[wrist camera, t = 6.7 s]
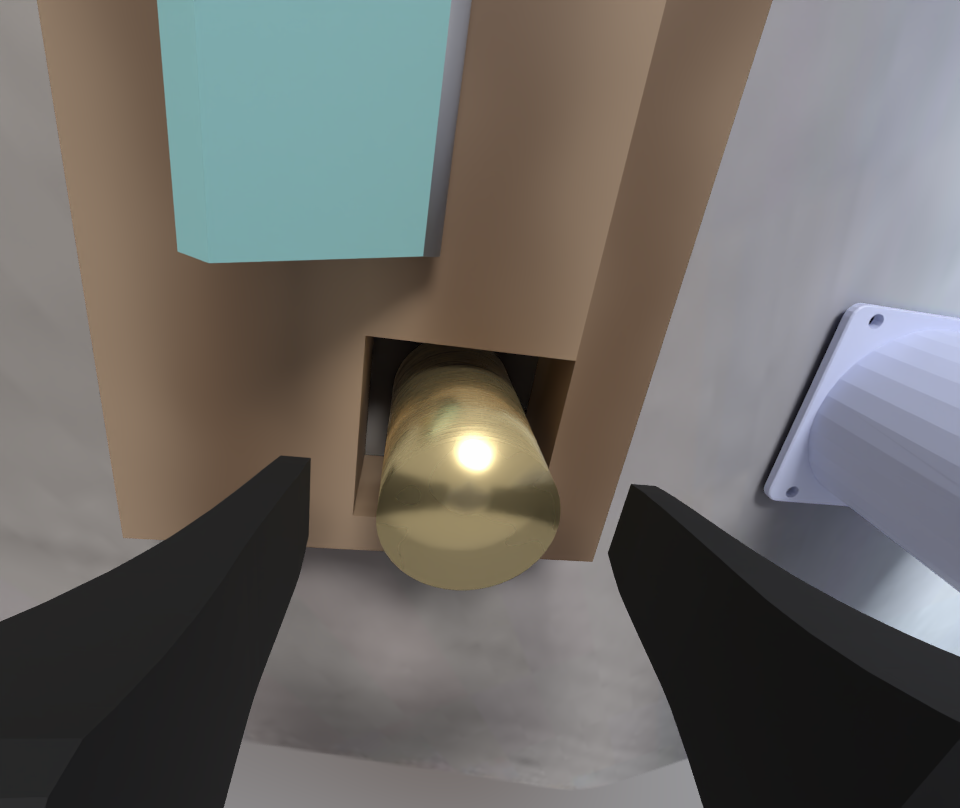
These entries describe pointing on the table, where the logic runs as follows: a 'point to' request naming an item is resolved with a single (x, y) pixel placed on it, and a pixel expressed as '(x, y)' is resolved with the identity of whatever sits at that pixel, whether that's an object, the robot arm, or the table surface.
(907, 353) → the robot arm
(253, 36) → the teal flat square block
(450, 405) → the peg
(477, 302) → the block
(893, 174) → the table surface
